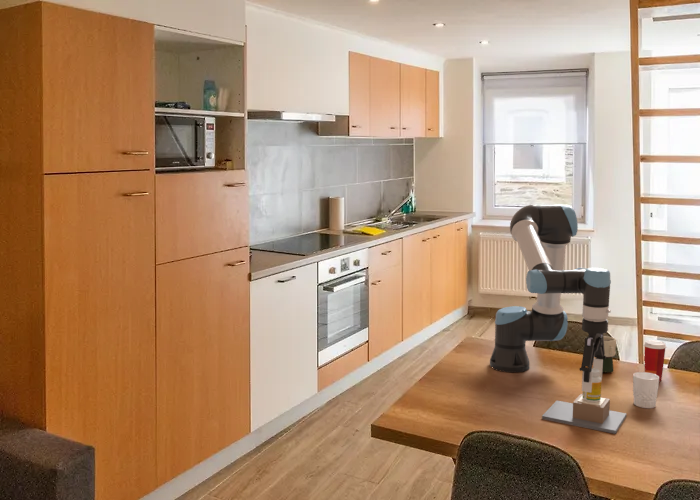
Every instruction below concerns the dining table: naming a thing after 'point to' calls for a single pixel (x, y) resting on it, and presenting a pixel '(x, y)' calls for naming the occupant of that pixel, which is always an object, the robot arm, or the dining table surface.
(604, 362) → the character mug
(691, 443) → the dining table surface
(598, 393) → the supplement bottle
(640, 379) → the white cup
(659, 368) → the paper cup
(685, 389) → the dining table surface
